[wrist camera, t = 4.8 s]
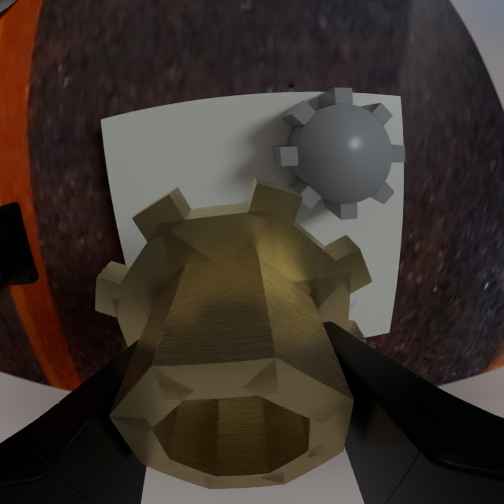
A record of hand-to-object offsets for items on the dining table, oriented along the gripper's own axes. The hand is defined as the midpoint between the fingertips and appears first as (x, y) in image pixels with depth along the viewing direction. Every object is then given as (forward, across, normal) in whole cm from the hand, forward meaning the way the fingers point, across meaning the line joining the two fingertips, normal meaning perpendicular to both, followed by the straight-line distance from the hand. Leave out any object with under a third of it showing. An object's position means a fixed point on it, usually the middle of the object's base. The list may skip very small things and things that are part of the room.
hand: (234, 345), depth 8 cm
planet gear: (+2, 0, 0) cm, 2 cm away
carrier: (+12, -2, +1) cm, 12 cm away
